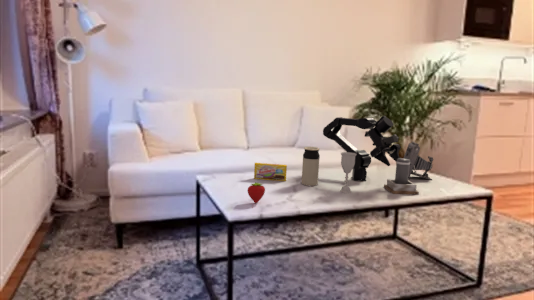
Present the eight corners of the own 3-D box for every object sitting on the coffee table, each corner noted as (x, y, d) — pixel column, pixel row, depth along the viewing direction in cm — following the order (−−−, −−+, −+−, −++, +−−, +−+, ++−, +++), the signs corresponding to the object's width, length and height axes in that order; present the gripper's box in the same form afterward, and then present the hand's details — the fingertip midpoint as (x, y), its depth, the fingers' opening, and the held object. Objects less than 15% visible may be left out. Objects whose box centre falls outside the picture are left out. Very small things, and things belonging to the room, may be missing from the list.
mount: (392, 193, 200) (393, 185, 199) (383, 186, 212) (384, 178, 211) (418, 194, 201) (419, 185, 200) (408, 187, 213) (409, 179, 212)
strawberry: (244, 201, 177) (245, 178, 176) (260, 200, 181) (261, 177, 179) (250, 205, 172) (251, 181, 170) (267, 204, 176) (268, 180, 174)
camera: (430, 187, 230) (444, 152, 227) (400, 177, 231) (413, 142, 227) (424, 182, 241) (437, 149, 238) (395, 173, 242) (408, 139, 238)
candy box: (253, 179, 216) (254, 163, 215) (254, 178, 218) (254, 162, 217) (285, 181, 215) (286, 165, 213) (286, 180, 217) (286, 164, 215)
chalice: (354, 190, 202) (357, 153, 199) (352, 194, 196) (355, 155, 193) (339, 188, 205) (341, 151, 202) (336, 192, 198) (339, 153, 195)
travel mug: (320, 185, 208) (322, 149, 205) (305, 186, 206) (307, 149, 203) (313, 181, 216) (316, 146, 213) (299, 182, 214) (301, 146, 211)
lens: (394, 188, 204) (397, 160, 202) (393, 185, 210) (396, 157, 208) (408, 190, 203) (411, 161, 200) (406, 187, 209) (409, 158, 206)
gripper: (377, 129, 203) (395, 157, 196) (399, 128, 215) (417, 153, 209) (362, 143, 210) (379, 170, 204) (384, 141, 222) (401, 166, 216)
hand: (394, 164), depth 208 cm, fingers open, 9 cm apart
